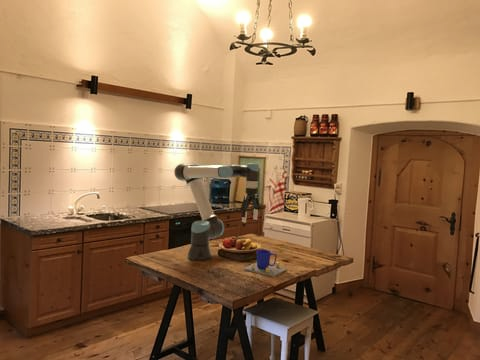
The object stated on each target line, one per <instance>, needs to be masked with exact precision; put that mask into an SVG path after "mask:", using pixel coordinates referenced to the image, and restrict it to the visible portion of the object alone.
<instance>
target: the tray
mask: <svg viewBox="0 0 480 360" xmlns="http://www.w3.org/2000/svg"><path fill="white" fill-rule="evenodd" d="M280 265H281V264H280V262H278V261H276V262H275V265H274V266H268V267H266V269H261V268H258V267H257V262H255V263H251V264H250V265H248V266H246V267H244V269H243V270H244V271H247V272H251V273H256V274H259V275H264V276H268V277H272V278H275V277H277V276H279V275H281V274H282V273H283V274H284V273H285V272H286V271H287V268H285V267H281V266H280ZM284 271H285V272H284Z"/></svg>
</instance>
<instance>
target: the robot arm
mask: <svg viewBox="0 0 480 360" xmlns="http://www.w3.org/2000/svg"><path fill="white" fill-rule="evenodd" d="M259 171H260V165H259V164H258V163H256V162H255V163H254V162H248V163H246V165H242V164H231V165H226V164H225V165H200V164H198V163H193V162H192V163H179V164H178V165H176V167H175V169H174V177H175V178H176V179H177V180H179V181H182V182H185V183H186V185H187V186H188V187H190V189H191V192H192V195H193V198H194V200H195V204H196V206H197V209H198V212H199V213H200V214H199V215H200V217H201V219H200V220H195V221H194V222H192V224H191V229H190V230H191V233H190V235H191V236H190V246H189V249H188V253H187V258H188V259H189V260H191V261H202V262H203V261H209V260H211V258H212V252H211V249H210V240H212V239H217V238H219V237H220V236H222V235H223V233H224V231H225V225H224V222H223V221H222V220H221V219H219V218H218V216H217V215H216V214H215V213H214V211H213V208H212V206H211V203H210V200H209V198H208V195H207V192H206V190H205V187H204V185H203V181H204V179H208V178H209V179H218V178H219V179H221V178H222V179H228V178H245V180H246V182H245V194H246V195H244V196H243V199H242V202H241V203H242V204H241V207H240V212H241V215H242V217H241V222H242V223H247V215H248V211H247V210H248V209H249V206H250V204H251V203H252V206H253V208H254V209H253V216H252V217H253V218H252V219H253V220H255V221H256V220H257V221H258V214H259V210H260V209H261V205H260V200H259V194H258V189H259V188H258V187H259V174H260V173H259Z"/></svg>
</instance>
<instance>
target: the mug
mask: <svg viewBox="0 0 480 360" xmlns="http://www.w3.org/2000/svg"><path fill="white" fill-rule="evenodd" d="M277 255H278V254H277V253H271V251H270V250H267V249H258V250H256V263H257V267H258V268H261V269H266V267H268V266H275V265H276V263H277ZM271 256H275V257H274V262H273V264H270V263H271Z"/></svg>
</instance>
